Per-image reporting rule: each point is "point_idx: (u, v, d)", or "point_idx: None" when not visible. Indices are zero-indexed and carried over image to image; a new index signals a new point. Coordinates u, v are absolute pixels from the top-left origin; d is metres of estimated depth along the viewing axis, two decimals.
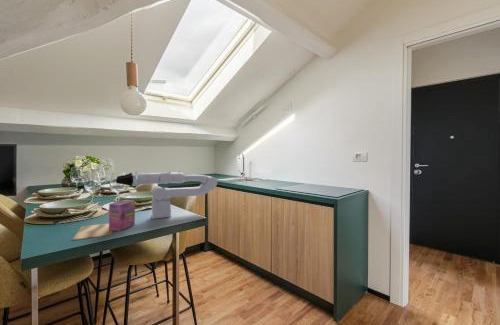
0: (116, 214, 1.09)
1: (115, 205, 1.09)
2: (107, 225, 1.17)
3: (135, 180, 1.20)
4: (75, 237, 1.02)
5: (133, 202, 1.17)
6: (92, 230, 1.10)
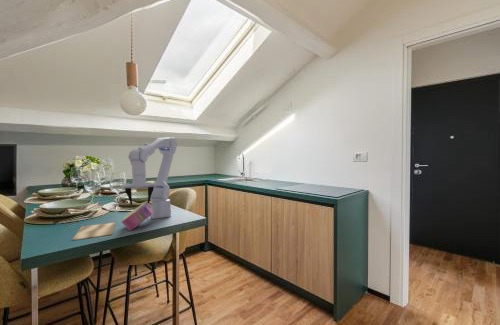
0: (141, 217, 1.11)
1: (148, 211, 1.11)
2: (107, 225, 1.17)
3: (155, 185, 1.19)
4: (75, 237, 1.02)
5: (152, 210, 1.20)
6: (92, 230, 1.10)
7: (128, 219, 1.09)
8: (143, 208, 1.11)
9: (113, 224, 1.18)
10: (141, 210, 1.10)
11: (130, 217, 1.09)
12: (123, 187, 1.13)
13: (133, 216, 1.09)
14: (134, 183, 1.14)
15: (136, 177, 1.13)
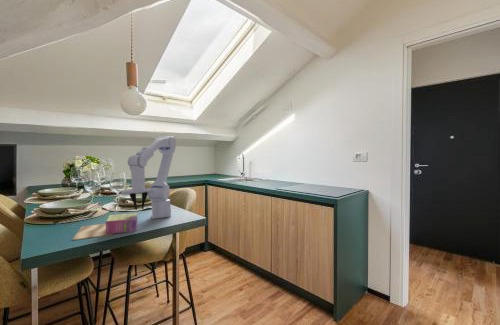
0: (125, 228, 1.07)
1: (135, 226, 1.09)
2: None
3: (155, 190, 1.19)
4: (75, 237, 1.02)
5: None
6: (92, 230, 1.10)
7: (113, 222, 1.06)
8: (133, 221, 1.08)
9: None
10: (130, 221, 1.08)
11: (116, 222, 1.06)
12: (122, 193, 1.13)
13: (119, 222, 1.06)
14: (133, 189, 1.14)
15: (135, 183, 1.14)
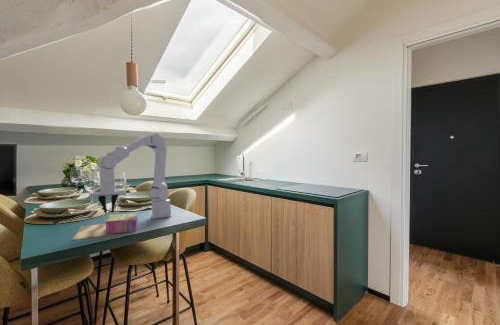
0: (125, 228, 1.07)
1: (135, 226, 1.09)
2: None
3: None
4: (75, 237, 1.02)
5: None
6: (92, 230, 1.10)
7: (113, 222, 1.06)
8: (133, 221, 1.08)
9: None
10: (130, 221, 1.08)
11: (116, 222, 1.06)
12: (90, 195, 1.08)
13: (119, 222, 1.06)
14: (102, 191, 1.09)
15: (104, 185, 1.08)
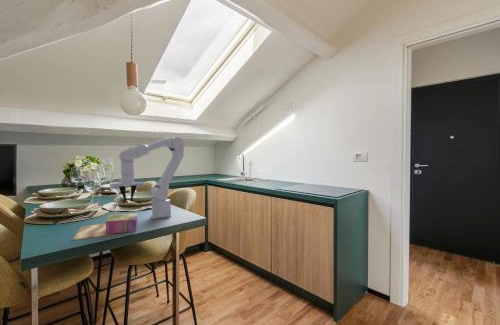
0: (125, 228, 1.07)
1: (135, 226, 1.09)
2: None
3: None
4: (75, 237, 1.02)
5: None
6: (92, 230, 1.10)
7: (113, 222, 1.06)
8: (133, 221, 1.08)
9: None
10: (130, 221, 1.08)
11: (116, 222, 1.06)
12: (112, 185, 1.18)
13: (119, 222, 1.06)
14: (123, 182, 1.19)
15: (124, 176, 1.19)
